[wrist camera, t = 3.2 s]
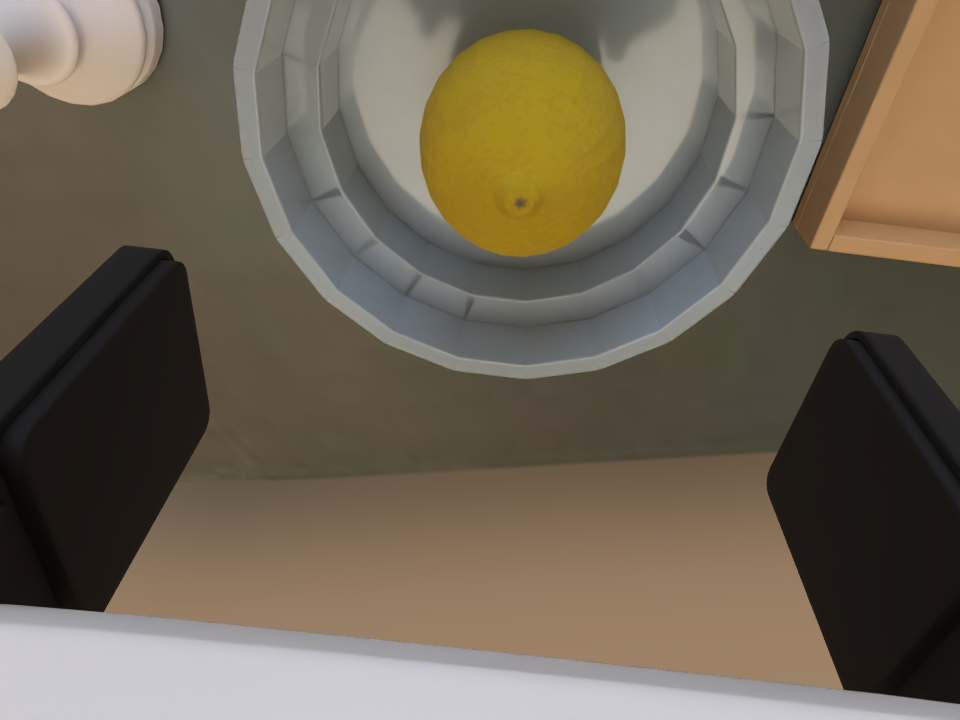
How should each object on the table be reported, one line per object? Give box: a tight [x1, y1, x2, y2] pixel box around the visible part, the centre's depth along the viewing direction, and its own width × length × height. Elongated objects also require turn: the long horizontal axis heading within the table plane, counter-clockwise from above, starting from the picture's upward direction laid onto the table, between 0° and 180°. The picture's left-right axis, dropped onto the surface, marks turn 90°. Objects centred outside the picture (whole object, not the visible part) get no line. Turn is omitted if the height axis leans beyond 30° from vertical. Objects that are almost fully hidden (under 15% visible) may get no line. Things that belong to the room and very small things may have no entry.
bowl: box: [233, 0, 830, 379], centre depth 20 cm, size 15×15×5 cm
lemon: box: [419, 29, 626, 257], centre depth 19 cm, size 6×6×8 cm
